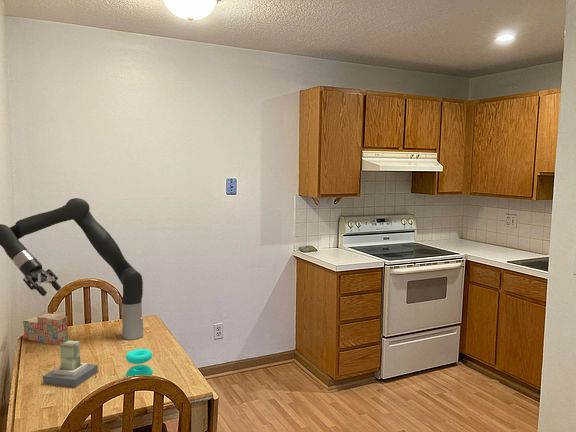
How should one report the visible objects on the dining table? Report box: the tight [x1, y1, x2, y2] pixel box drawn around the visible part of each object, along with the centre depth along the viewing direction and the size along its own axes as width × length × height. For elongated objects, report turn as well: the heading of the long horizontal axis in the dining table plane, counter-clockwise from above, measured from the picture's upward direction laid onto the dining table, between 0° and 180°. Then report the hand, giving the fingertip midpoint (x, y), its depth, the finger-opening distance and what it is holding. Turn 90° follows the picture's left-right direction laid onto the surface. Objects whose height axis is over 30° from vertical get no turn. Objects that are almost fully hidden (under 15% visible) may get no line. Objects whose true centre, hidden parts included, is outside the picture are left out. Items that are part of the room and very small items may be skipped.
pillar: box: [59, 339, 81, 371], centre depth 186 cm, size 5×5×11 cm
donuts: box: [125, 348, 154, 378], centre depth 188 cm, size 10×10×10 cm
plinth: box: [42, 362, 99, 388], centre depth 187 cm, size 14×14×4 cm
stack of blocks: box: [23, 313, 69, 346], centre depth 228 cm, size 21×6×12 cm, turn 69°
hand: (52, 292), depth 198 cm, fingers open, 8 cm apart
